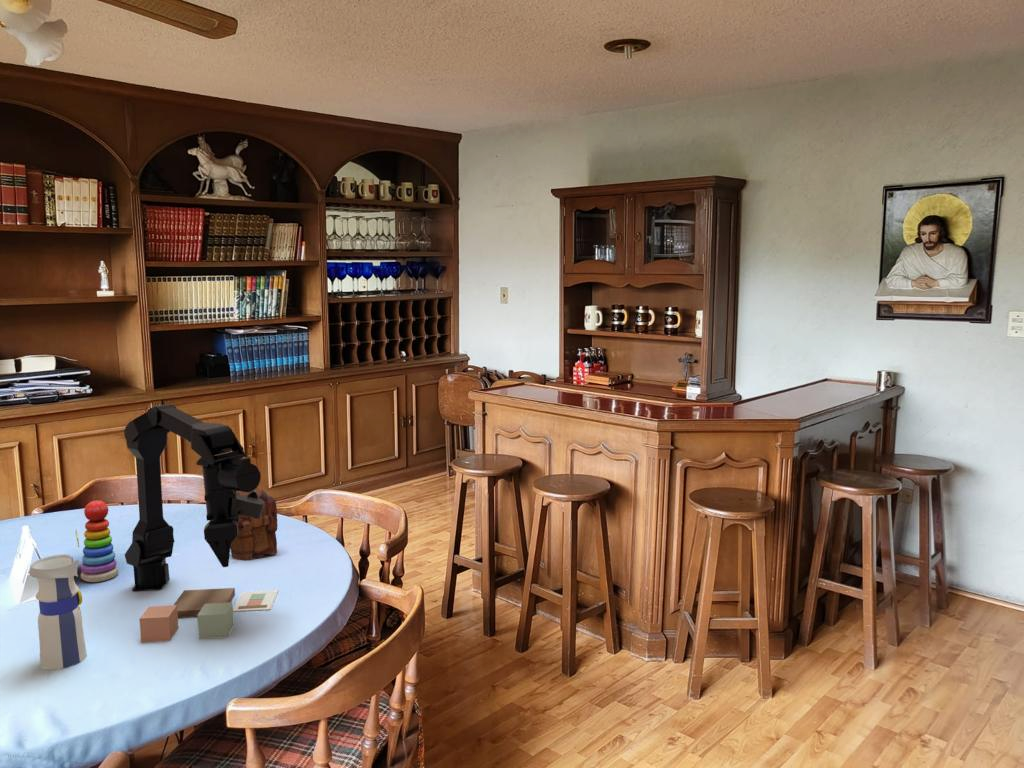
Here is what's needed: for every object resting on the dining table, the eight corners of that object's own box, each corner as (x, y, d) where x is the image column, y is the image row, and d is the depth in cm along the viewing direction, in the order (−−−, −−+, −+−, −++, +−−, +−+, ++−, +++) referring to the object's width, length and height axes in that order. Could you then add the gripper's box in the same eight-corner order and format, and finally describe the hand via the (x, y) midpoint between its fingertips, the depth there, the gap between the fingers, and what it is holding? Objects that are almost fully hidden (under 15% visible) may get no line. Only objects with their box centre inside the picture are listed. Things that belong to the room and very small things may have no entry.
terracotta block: (141, 642, 156) (139, 618, 155) (150, 629, 161) (148, 606, 161) (170, 640, 157) (168, 617, 156) (178, 628, 162) (176, 605, 161)
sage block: (199, 639, 157) (197, 615, 156) (206, 626, 163) (204, 603, 162) (227, 637, 158) (226, 613, 157) (233, 625, 163) (232, 602, 162)
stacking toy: (103, 584, 184) (96, 507, 181) (73, 582, 186) (66, 505, 183) (125, 571, 192) (119, 497, 189) (97, 569, 193) (90, 495, 190)
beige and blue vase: (77, 643, 155) (66, 521, 151) (96, 657, 150) (85, 530, 146) (31, 659, 149) (18, 532, 145) (49, 674, 143) (36, 543, 140)
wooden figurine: (231, 562, 197) (226, 493, 194) (229, 554, 203) (225, 486, 200) (280, 556, 202) (276, 488, 199) (277, 548, 207) (274, 481, 205)
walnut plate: (169, 618, 166) (168, 611, 166) (184, 596, 177) (184, 590, 177) (223, 615, 167) (222, 608, 167) (235, 594, 178) (234, 587, 178)
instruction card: (232, 611, 169) (232, 610, 169) (242, 592, 179) (242, 591, 179) (270, 609, 170) (270, 608, 170) (278, 591, 180) (278, 589, 180)
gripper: (260, 492, 156) (267, 568, 158) (259, 473, 174) (266, 541, 176) (200, 499, 153) (208, 576, 155) (206, 479, 171) (213, 549, 173)
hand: (226, 559), depth 165 cm, fingers open, 9 cm apart
